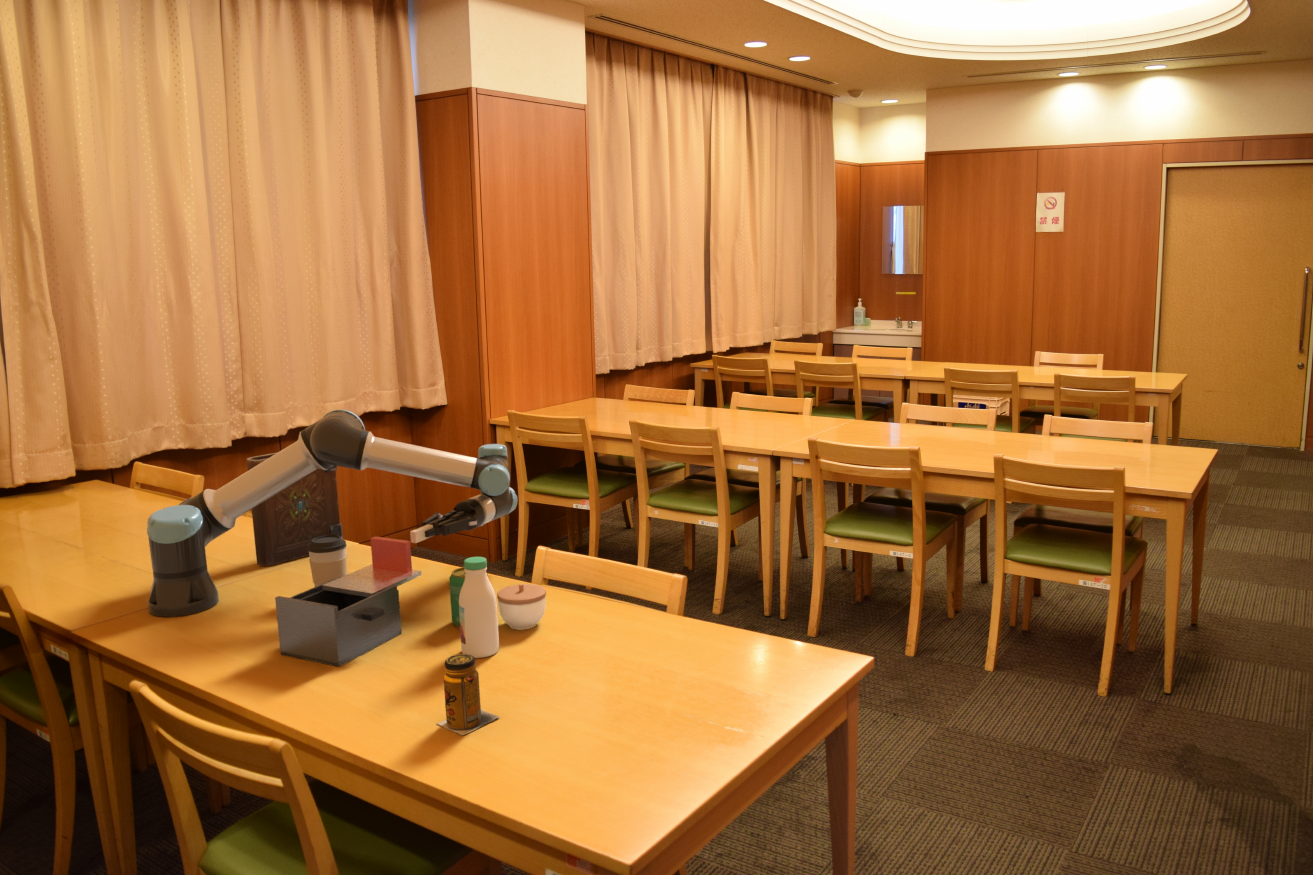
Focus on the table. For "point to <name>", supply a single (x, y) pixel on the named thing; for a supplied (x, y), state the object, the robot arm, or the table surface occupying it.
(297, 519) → the decorative book
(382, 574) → the lid
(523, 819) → the table surface
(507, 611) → the lidded jar
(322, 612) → the gray drawer chest
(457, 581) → the beverage can
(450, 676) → the condiment
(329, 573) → the coffee cup
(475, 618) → the milk bottle
